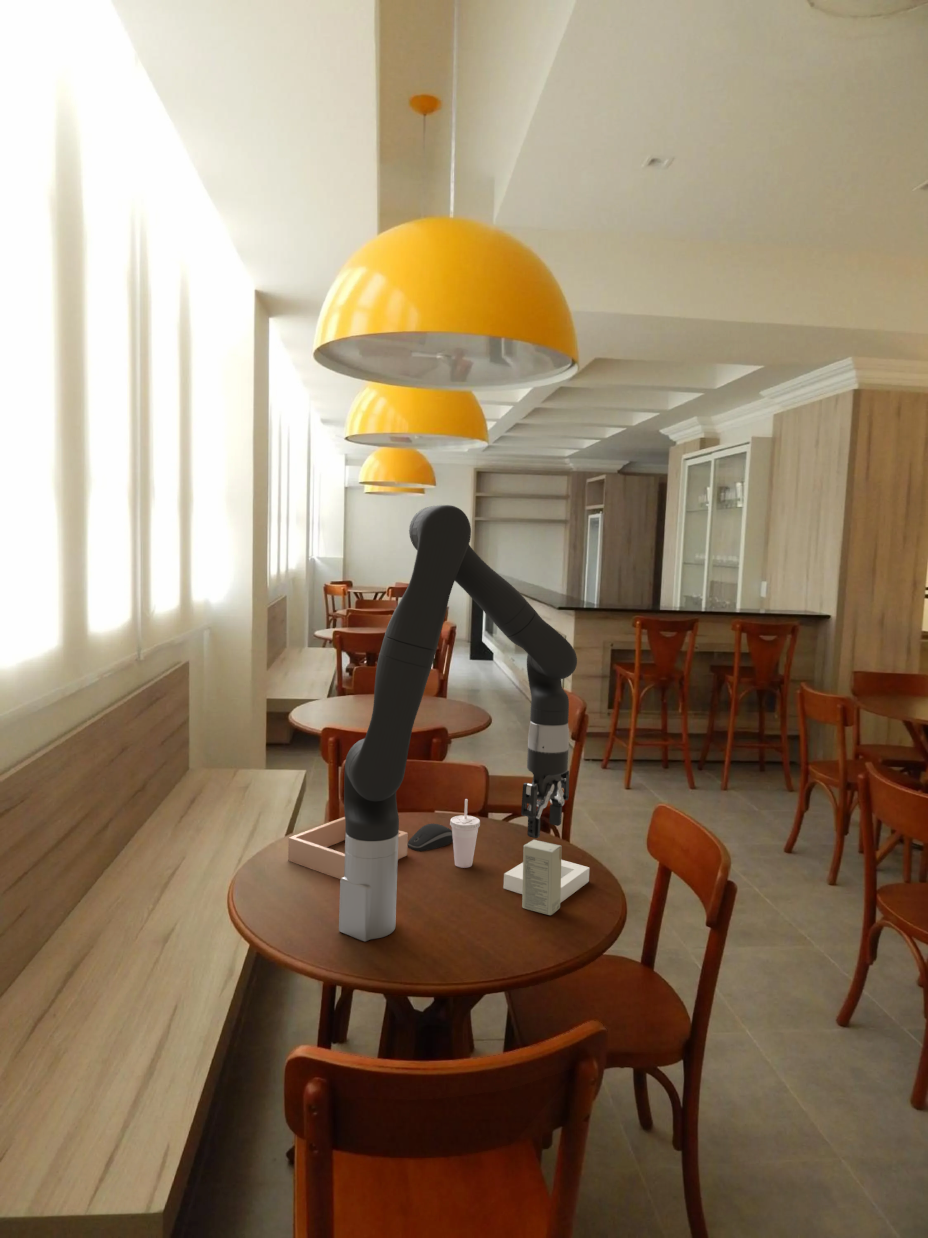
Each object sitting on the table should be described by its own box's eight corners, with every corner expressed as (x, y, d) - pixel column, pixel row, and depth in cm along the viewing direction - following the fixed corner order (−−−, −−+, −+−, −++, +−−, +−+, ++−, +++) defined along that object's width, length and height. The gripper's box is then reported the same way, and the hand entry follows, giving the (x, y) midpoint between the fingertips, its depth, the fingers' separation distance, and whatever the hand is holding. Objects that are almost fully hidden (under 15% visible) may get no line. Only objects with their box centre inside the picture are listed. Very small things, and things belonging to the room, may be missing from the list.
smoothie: (479, 859, 172) (482, 796, 171) (477, 871, 166) (479, 806, 164) (450, 857, 172) (452, 794, 171) (446, 869, 166) (449, 804, 165)
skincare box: (560, 908, 150) (564, 845, 149) (550, 917, 146) (554, 852, 145) (530, 899, 153) (533, 838, 152) (519, 907, 149) (522, 844, 148)
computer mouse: (400, 846, 179) (401, 829, 178) (438, 833, 188) (439, 817, 187) (422, 855, 174) (423, 837, 174) (460, 841, 183) (461, 824, 183)
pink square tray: (349, 882, 157) (350, 858, 157) (288, 860, 167) (288, 837, 167) (407, 855, 173) (407, 833, 172) (347, 836, 182) (348, 815, 182)
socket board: (557, 905, 151) (558, 887, 151) (503, 888, 158) (504, 871, 157) (588, 881, 163) (589, 865, 162) (537, 866, 169) (538, 851, 169)
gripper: (547, 757, 139) (544, 846, 140) (583, 742, 151) (579, 825, 152) (511, 749, 143) (507, 837, 145) (548, 735, 155) (545, 816, 156)
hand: (544, 830), depth 148 cm, fingers open, 8 cm apart
